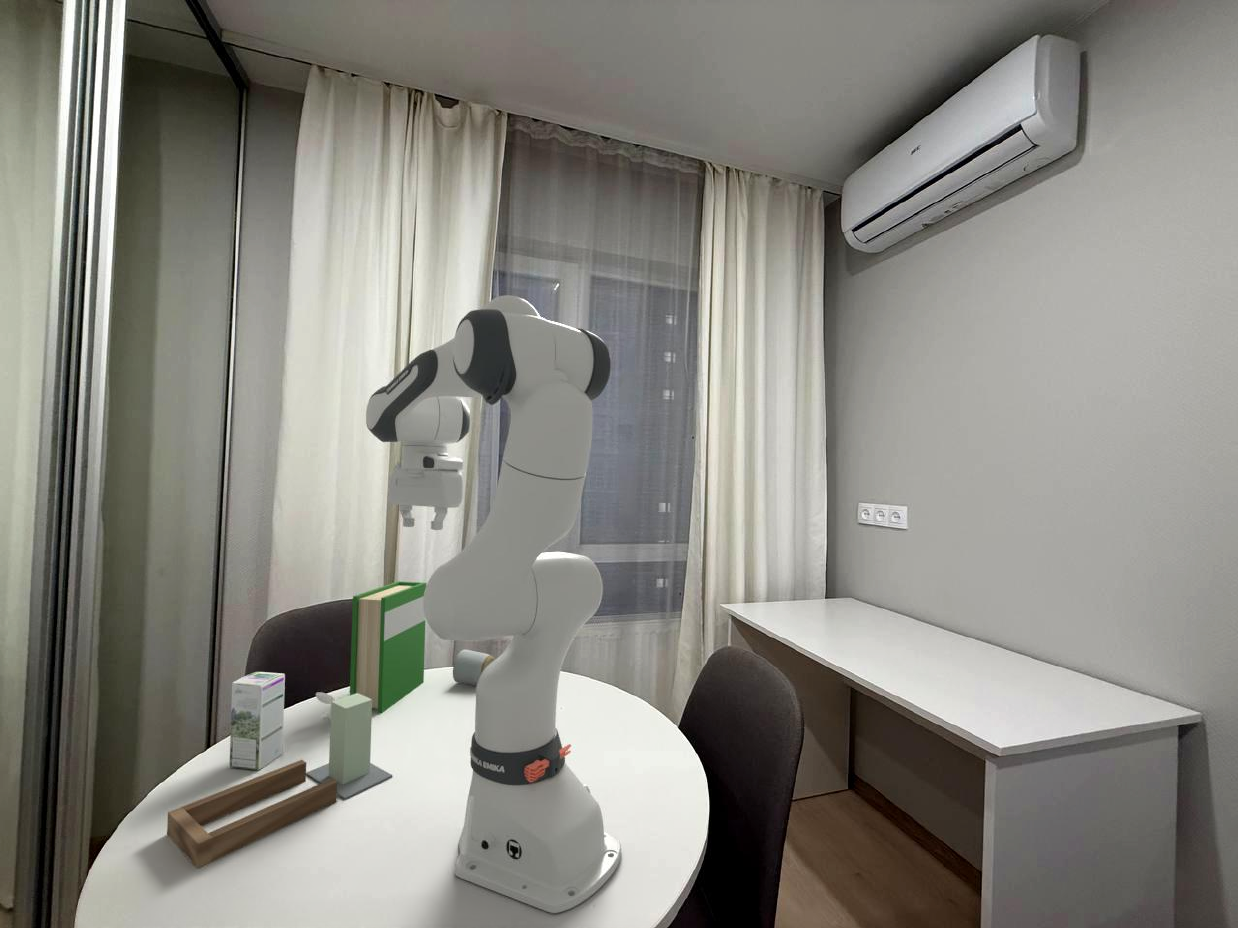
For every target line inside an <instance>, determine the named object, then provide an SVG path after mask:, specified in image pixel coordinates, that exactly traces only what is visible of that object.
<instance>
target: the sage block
mask: <svg viewBox="0 0 1238 928" xmlns="http://www.w3.org/2000/svg"><path fill="white" fill-rule="evenodd" d="M337 699H338V700H336V699H334V700H335V701H331V703H330V707H331V716H330V719H331V721H330V720H329V721H330V725H329V752H328V753H329V755H328V756H329V758H328V759H329V760H328V763H329V776H330V777H332V778H333V779H335V780H337V781H338V782H340V783H341V784H343V785H344V784H346V783H348V782H350V781H352V780H354V779H357V778H359V777H361V776H363V775H365V774H368V773H370V763H371V749H372V747H371V746H372V721H373V720H372V717H373V715H372V713H373V708H372V699H370V698H368V697H365V696H363V695H361V694H358V693H356V694H353V695H350V694H349V695H348V696H344V697H341V699H340V698H337Z"/></svg>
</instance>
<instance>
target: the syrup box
mask: <svg viewBox="0 0 1238 928" xmlns="http://www.w3.org/2000/svg"><path fill="white" fill-rule="evenodd" d="M285 682H286V674H285V673H282V672H281V673H278V672H267V671H266V672H265V671H255V672H252V673H249V674H247V675H245V676H242V677H240V678H239V679H237V680H234V681H233V682H231V683H232V684H231V707H230V711H231V714H230V743H229V768H234V769H242V770H243V769H244V770H250V771H251V770H253V771H254V770H255V771H260V770H262V769H263V768H264V767H267V766H268V765H269V764H271V763H273V762H274V761H275V760H277V759H279V758H280V757H281V756H283V754H284V751H283V750H284V719H285V718H284V715H285V714H284V713H285V710H284V709H285V689H286V686H285Z"/></svg>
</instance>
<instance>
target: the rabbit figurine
mask: <svg viewBox="0 0 1238 928" xmlns="http://www.w3.org/2000/svg"><path fill="white" fill-rule="evenodd" d="M315 697H316V698H317V700H318V701H319V702H321V703H324V704H326V705H327V704H330V705H331V701H335V700H338V699H341V698H342V697H341V698H336V699H334V697H333V696H332V695H331V694H328V693H325V692H316V693H315ZM320 719H322V720H326V719H328V720H329V721H331V706H330V707H329V708H327V709H326V710H325V711H323V712H322V714H321V717H320Z"/></svg>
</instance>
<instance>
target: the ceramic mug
mask: <svg viewBox="0 0 1238 928" xmlns="http://www.w3.org/2000/svg"><path fill="white" fill-rule="evenodd" d="M494 660H496V658H494V656H493V655H491V654H488V653H485V652H479V651H474V650H470V649H462V650H460V651H459V653H458V654H457V655H456V657H455V659H454V662H453V666H452V667H453V668H452V677H453V681H454V682H455V683H457V684H465V685H475V686H477V683H478V680H479V678H480V676H481V674H482V672H483V671H484V669H485V668H486V667H487V666H488V665H489V664H490V663H492V662H493V661H494Z"/></svg>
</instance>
